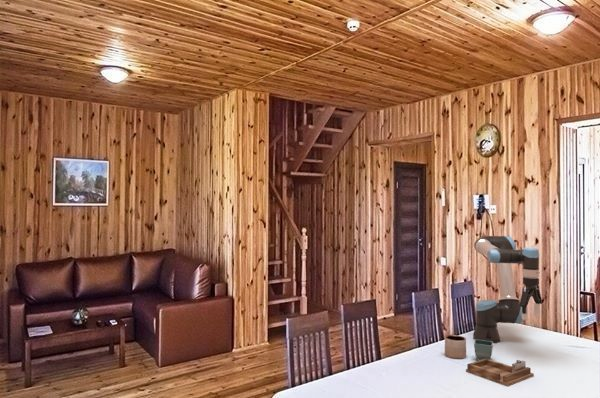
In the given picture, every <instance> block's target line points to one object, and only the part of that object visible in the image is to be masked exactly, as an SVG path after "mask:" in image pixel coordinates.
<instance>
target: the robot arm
mask: <svg viewBox="0 0 600 398" xmlns="http://www.w3.org/2000/svg"><path fill="white" fill-rule="evenodd" d="M473 246H474V250H475V251H476V252H477V253H478V254H479V255H480V254H481V255H484V256H486V257H487V261H488V262H489V263H491V264H496V269H497V277H498V278H497V279H498V285H499V286H498V288H499V293H500V295H499V296H500V298H499V299H498V301H497V300H495V299H482V300H478V301H477V302H476V303H475V328H474V331H473V334H472V339H473V340H474V341H475V339H477V340H485V341H492V342H493V344H498V343H500V342H501V336H500V334H499V333H500V332H499V330H498V324H513V325H514V324H522V322H523V321H529V307H528V305H529V302H530V299H531V297H532V299H533V301H534V303H533V316H535V317H538V318H539V317H540V316H541V305H543V299H542V298H543V297H542V294H541V292H540V291H541V290H540V274H541V273H540V270H539V269H540V268H539V267H540V252H539V249H538V248H537V247H523V248H522V249H521V248H520V249H516V243H515V241H514V239H513V237H511V236H508V235H507V236H506V235H484V236H481V237H478V238H477V239H476V240H475V242H474V245H473ZM513 264H519V265H520V264H521V265H522V284H523V285H525V287H522V289H521V291H522V292H521V295H520V299H519V298H518V297H517V294H516V287H515V285H516V284H515V278H514V271H513V266H512V265H513Z"/></svg>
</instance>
